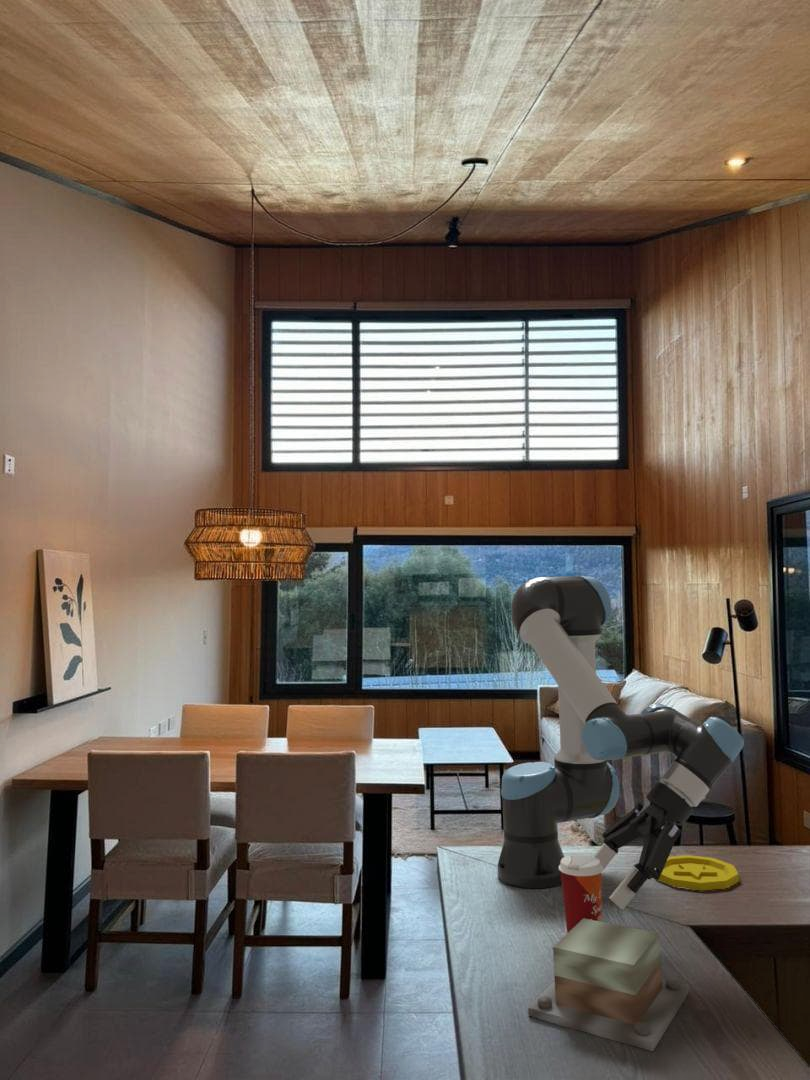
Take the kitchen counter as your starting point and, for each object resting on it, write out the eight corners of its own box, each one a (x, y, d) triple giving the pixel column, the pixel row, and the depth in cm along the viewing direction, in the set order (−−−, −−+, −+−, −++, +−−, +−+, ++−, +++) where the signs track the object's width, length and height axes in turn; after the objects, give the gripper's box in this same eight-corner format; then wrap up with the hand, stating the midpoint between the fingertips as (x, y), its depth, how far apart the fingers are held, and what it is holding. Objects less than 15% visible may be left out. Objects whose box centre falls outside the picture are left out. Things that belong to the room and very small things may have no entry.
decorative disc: (637, 880, 169) (636, 870, 170) (678, 859, 181) (678, 850, 182) (713, 899, 157) (712, 888, 157) (751, 875, 169) (751, 866, 169)
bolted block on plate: (528, 1016, 116) (525, 950, 116) (576, 966, 130) (572, 908, 131) (652, 1051, 106) (648, 979, 106) (688, 992, 120) (684, 930, 121)
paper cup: (599, 956, 134) (594, 870, 135) (555, 947, 138) (551, 864, 139) (613, 938, 140) (608, 857, 141) (571, 930, 144) (567, 851, 145)
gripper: (728, 828, 129) (646, 932, 126) (661, 792, 154) (591, 879, 151) (694, 797, 129) (611, 901, 126) (633, 766, 154) (562, 853, 151)
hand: (600, 889), depth 139 cm, fingers open, 13 cm apart
